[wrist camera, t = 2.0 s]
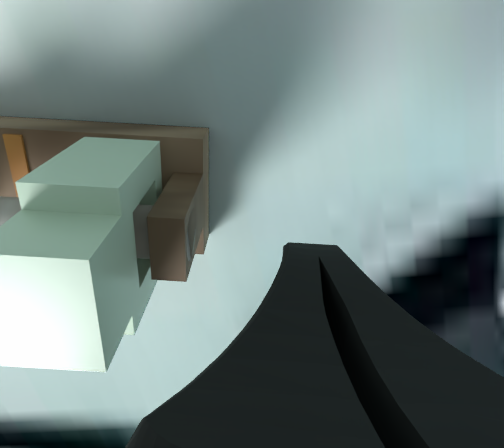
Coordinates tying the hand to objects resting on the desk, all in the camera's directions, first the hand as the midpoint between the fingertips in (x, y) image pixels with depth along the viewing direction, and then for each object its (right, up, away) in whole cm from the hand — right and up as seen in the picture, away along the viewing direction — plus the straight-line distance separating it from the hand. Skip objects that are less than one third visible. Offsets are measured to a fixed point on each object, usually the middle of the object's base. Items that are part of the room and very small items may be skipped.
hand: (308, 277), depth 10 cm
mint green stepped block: (-6, +2, +4) cm, 7 cm away
